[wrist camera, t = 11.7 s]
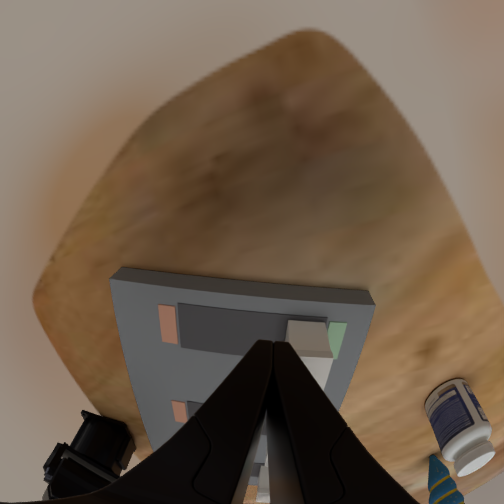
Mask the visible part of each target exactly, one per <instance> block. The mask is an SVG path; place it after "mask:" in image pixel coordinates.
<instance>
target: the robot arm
mask: <svg viewBox="0 0 504 504" xmlns="http://www.w3.org/2000/svg"><path fill="white" fill-rule="evenodd" d="M81 414H82V417H83V418H84V422H83V424H82V425H81V427H80V429H79V431H78V432H77V434H76V436H75V438H74V439H73V441H72V443H71V445H70V446H68V444H66V443H65V442H64V444H61V443H57V445H56V447H55V448H54V450H53V452H52V453H51V455H50V456H49V458H48V459H47V461H46V463H45V464H44V466H43V469H44V472H45V474H44V475H45V478H44V481H45V482H47V483H48V484H49V485H48V487H47V489H46V491H45V493H44V495H43V497H42V499H43V501H34V502H33V501H32V502H16V503H7V502H0V504H243V501H244V497H245V494H246V490H247V486H248V483H249V479H250V475H251V472H252V468H253V464H254V460H255V457H256V453H257V449H258V445H259V441H260V437H261V433H262V429H263V425H264V420H265V415H266V432H267V452H268V471H269V491H270V504H420V503H418V502H417V501H416V500H415V499H414V498H413V497H412V496H411V495H410V494H409V493H408V492H407V491H406V490H405V489H404V488H403V487H402V486H401V485H400V484H399V483H398V482H397V481H395V480H394V479H393V478H392V477H391V475H390V474H389V473H388V472H387V471H386V470H385V469H384V468H383V467H382V466H381V465H380V464H379V463H378V462H377V461H376V460H375V459H374V458H373V457H372V455H371V454H370V453H369V452H368V451H367V450H366V448H365V447H364V446H363V445H362V443H361V442H360V441H359V439H358V438H357V437H356V435H355V434H354V433H353V431H352V430H351V428H350V427H347V426H348V425H347V423H346V422H345V420H344V419H343V418H342V416H341V415H340V413H339V412H338V411H337V409H336V408H335V406H334V405H333V404H332V402H331V401H330V399H329V398H328V397H327V395H326V394H325V392H324V391H323V390H322V388H321V387H320V385H319V384H318V383H317V381H316V380H315V378H314V377H313V375H312V374H311V373H310V371H309V370H308V368H307V367H306V365H305V364H304V363H303V361H302V360H301V358H300V357H299V355H298V354H297V353H296V351H295V350H294V348H293V347H292V345H291V344H290V343H289V342H286V341H274V343H273V341H271V340H262V339H259V340H257V341H256V342H255V343H254V345H253V346H252V347H251V348H250V349H249V351H248V352H247V353H246V354H245V355H244V357H243V358H242V359H241V360H240V361H239V363H238V364H237V365H236V366H235V367H234V369H233V370H232V371H231V372H230V373H229V374H228V376H227V377H226V378H225V379H224V380H223V381H222V383H221V384H220V385H219V386H218V387H217V388H216V390H215V391H214V392H213V393H212V394H211V395H210V396H209V398H208V399H207V400H206V401H205V402H204V403H203V404H202V405H201V407H200V408H199V409H198V410H197V411H196V412H195V413H194V416H191V417H190V419H189V420H188V421H187V422H186V423H185V424H184V425H183V426H182V427H181V428H180V429H179V430H178V431H177V432H176V433H175V434H174V435H173V436H172V437H171V438H170V439H169V440H168V441H167V442H165V443H164V444H163V445H162V446H161V447H160V448H158V449H157V450H156V451H155V452H153V453H152V454H151V455H150V456H148V457H147V458H146V459H144V460H143V461H142V462H140V463H139V464H138V465H137V466H135V467H134V468H132V469H131V470H129V471H128V472H127V473H125V474H124V475H123V476H121V477H120V473H121V471H122V470H126V469H127V466H128V464H129V461H130V459H131V456H132V454H133V452H135V450H136V447H135V445H134V443H133V440H132V438H131V436H130V433H129V431H128V429H127V426H126V425H125V424H124V423H121V422H118V421H114V420H111V419H108V418H105V417H102V416H99V415H96V414H93V413H90V412H88V411H85V410H82V412H81ZM62 457H63V458H62Z"/></svg>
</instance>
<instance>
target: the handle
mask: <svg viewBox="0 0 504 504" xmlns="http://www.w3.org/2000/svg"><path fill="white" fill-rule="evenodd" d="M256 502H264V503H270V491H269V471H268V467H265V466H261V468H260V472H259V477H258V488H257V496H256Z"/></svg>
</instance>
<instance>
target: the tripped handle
mask: <svg viewBox="0 0 504 504" xmlns="http://www.w3.org/2000/svg"><path fill="white" fill-rule="evenodd" d="M285 341H286V342H289V343H290V344H291V345H292V347H293V348H294V350H295V351H296V353H297V354H298V355H299V357H300V358H301V360H302V361H303V363H304V364H305V365H306V367H307V368H308V370H309V371H310V373H311V374H312V375H313V377H314V378H315V380H316V381H317V383H318V384H319V385H320V387H321V388H322V390H323V391H324V388H325V385H326V382H327V378H328V375H329V372H330V369H331V365H332V362H333V359H334V357H333V353H332V351H331V348H330V344H329V339H328V334H327V329H326V325H325V323H323V322H308V321H294V320H288V326H287V332H286V338H285Z"/></svg>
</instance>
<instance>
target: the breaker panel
mask: <svg viewBox="0 0 504 504" xmlns="http://www.w3.org/2000/svg"><path fill="white" fill-rule="evenodd" d="M109 281H110V287H111V293H112V299H113V305H114V311H115V316H116V321H117V326H118V331H119V336H120V340H121V345H122V349H123V353H124V358H125V362H126V366H127V370H128V373H129V377H130V381H131V385H132V388H133V392H134V395H135V398H136V402H137V405H138V408H139V411H140V415H141V418H142V421H143V424H144V427H145V430H146V433H147V435H148V438H149V441H150V444H151V447H152V449H153V452H155V451H156V450H157V449H158V448H160V447H161V446H162V445H163V444H164V443H165V442H167V441H168V440H169V439H170V438H171V437H172V436H173V435H174V434H175V433H176V432H177V431H178V430H179V429H180V428H181V427H182V426H183V425H184V424H185V423H186V422H187V421H188V420H189V419H190V417H191V416H194V413H195V412H196V411H197V410H198V409H199V408H200V407H201V405H202V404H203V403H204V402H205V401H206V400H207V399H208V398H209V396H210V395H211V394H212V393H213V392H214V391H215V390H216V388H217V387H218V386H219V385H220V384H221V383H222V381H223V380H224V379H225V378H226V377H227V376H228V374H229V373H230V372H231V371H232V370H233V369H234V367H235V366H236V365H237V364H238V363H239V361H240V360H241V359H242V358H243V357H244V355H245V354H246V353H247V352H248V351H249V349H250V348H251V347H252V346H253V345H254V343H255V342H256V341H257V340H259V339H262V340H271V341H273V343H274V341H285V338H286V332H287V326H288V320H294V321H308V322H323V323H325V325H326V329H327V334H328V339H329V344H330V348H331V351H332V353H333V357H334V359H333V362H332V365H331V369H330V372H329V375H328V378H327V382H326V385H325V388H324V392H325V394H326V395H327V397H328V398H329V399H330V401H331V402H332V404H333V405H334V406H335V408H336V409H337V411H339V409H340V406H341V404H342V402H343V399H344V397H345V394H346V392H347V389H348V387H349V384H350V381H351V379H352V376H353V373H354V371H355V368H356V365H357V362H358V360H359V357H360V354H361V351H362V348H363V345H364V342H365V339H366V336H367V333H368V329H369V326H370V323H371V320H372V316H373V313H374V310H375V306H376V305H375V303H374V301H373V299H372V297H371V295H370V293H369V291H362V290H348V289H334V288H321V287H308V286H296V285H285V284H273V283H262V282H252V281H241V280H231V279H221V278H211V277H202V276H193V275H184V274H175V273H166V272H158V271H149V270H141V269H133V268H125V267H121V268H120V269H119V270H118V271H117V272H116V273H115V274H114V275H113V276H112V277H110V278H109ZM266 448H267V432H266V415H265V420H264V425H263V429H262V433H261V437H260V441H259V445H258V449H257V453H256V457H255V460H254V464H253V468H252V472H251V475H250V479H249V483H248V485H257V486H258V477H259V472H260V468H261V466H265V459H266Z"/></svg>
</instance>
